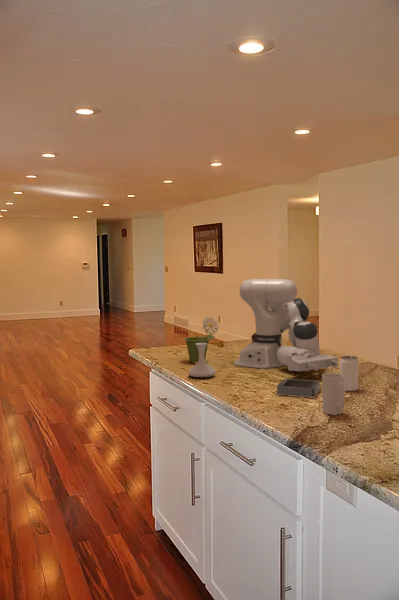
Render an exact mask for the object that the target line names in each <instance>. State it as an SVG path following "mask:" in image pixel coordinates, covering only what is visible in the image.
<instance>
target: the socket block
mask: <svg viewBox="0 0 399 600" xmlns="http://www.w3.org/2000/svg"><path fill="white" fill-rule="evenodd" d="M320 384H321V383H320V381H319V380H314V379H313V380H312V379H301V378H300V379H298V378H285V379H282V380H281V381H280V383H278V384H277V386H276V388H277V391H276V392H275V394H276V395H275V396H279V395H288V396H287V397H292V396H299V397H298V398H304V397H309V398H308V399H316V398H317V396H316V395H318V394H319V393H318V392H320V391H321V390H322V386H321V385H320Z"/></svg>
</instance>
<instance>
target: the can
mask: <svg viewBox="0 0 399 600" xmlns="http://www.w3.org/2000/svg"><path fill="white" fill-rule="evenodd" d="M339 364H340V365H339V369H340V371H339V372H340V373H339V374H342V375H344V392H356V391H358V390H359V359H358V357H357V356H354V355H353V356H352V355H344V356H341V359H340V363H339Z"/></svg>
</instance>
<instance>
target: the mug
mask: <svg viewBox="0 0 399 600" xmlns="http://www.w3.org/2000/svg"><path fill="white" fill-rule="evenodd" d="M321 390H322V391H321V392H322V393H321V395H322V396H321V397H322V403H321V404H322V412H324V413H323V414H325V413H326V415H328V414H331V415H330V416H338V415H337V414H340V415H342V414H343V413H344V404H345V403H344V402H345V391H344V375H342V374H340V373H336V372H328V373H323V374H321ZM341 413H342V414H341Z"/></svg>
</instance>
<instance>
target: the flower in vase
mask: <svg viewBox="0 0 399 600" xmlns="http://www.w3.org/2000/svg"><path fill="white" fill-rule="evenodd" d="M201 325H202V329H203V330H204V331H205V336H204V337H205V338H206V337H207V338H208V339H209V341H213V340H215V339H216V337H215V336H214V335H215V334H216V333H217V332H219V323H218V322H217V320H215V318H214V317H212V316H206V317H204V319H202V324H201ZM196 337H197V339H199V340H203V342H204V340H205V338H204V339H203V338H200V337H201V336H198V335H196ZM203 342H202V343H196V346H197V347H198V351H199V361H198V363H196V364H194V365H193V366H191V368H190V369H189V370H188V375H189V376H191V377H193V378H199V377H200V378H199V379H201V378H202V379H203V377H204V378H210V377H213V376H215V375H216V370H215V369H214V368H213V367H212V366H211V365H210V364H209V363H208V362H206V359H205V358H204V353H205V348H206V346H207V343H203ZM207 347H208V346H207Z"/></svg>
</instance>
